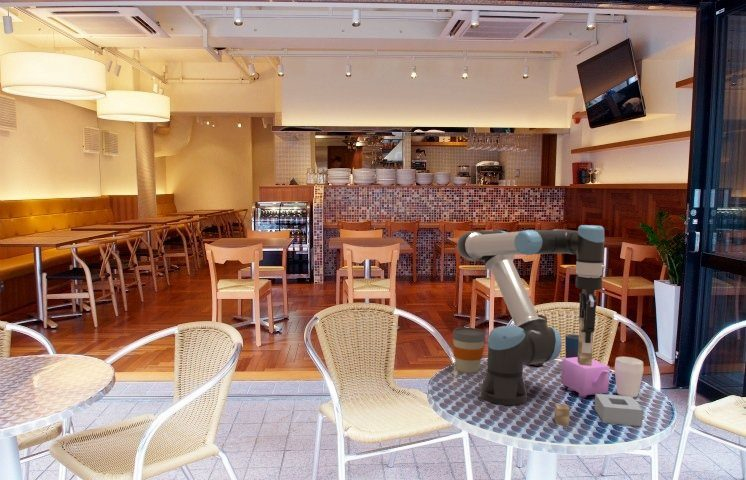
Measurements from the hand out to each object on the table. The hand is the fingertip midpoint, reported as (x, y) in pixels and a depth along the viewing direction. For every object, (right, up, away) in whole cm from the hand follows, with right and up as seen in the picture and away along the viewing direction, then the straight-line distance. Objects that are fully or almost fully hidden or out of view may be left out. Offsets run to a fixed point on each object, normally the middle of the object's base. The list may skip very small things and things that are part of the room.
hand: (585, 350), depth 167 cm
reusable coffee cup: (-29, -16, +44) cm, 55 cm away
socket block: (+11, -21, +1) cm, 23 cm away
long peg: (0, -4, 0) cm, 4 cm away
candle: (0, -17, +52) cm, 54 cm away
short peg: (-9, -21, -4) cm, 23 cm away
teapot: (+9, -20, +21) cm, 30 cm away
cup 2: (+23, -20, +21) cm, 37 cm away
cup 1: (+11, -18, +41) cm, 46 cm away
